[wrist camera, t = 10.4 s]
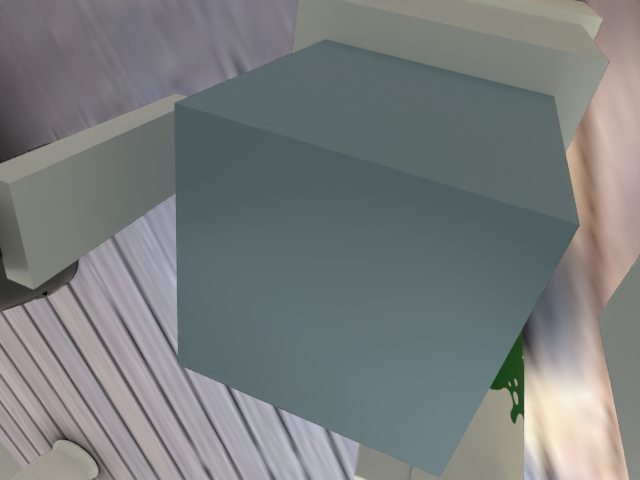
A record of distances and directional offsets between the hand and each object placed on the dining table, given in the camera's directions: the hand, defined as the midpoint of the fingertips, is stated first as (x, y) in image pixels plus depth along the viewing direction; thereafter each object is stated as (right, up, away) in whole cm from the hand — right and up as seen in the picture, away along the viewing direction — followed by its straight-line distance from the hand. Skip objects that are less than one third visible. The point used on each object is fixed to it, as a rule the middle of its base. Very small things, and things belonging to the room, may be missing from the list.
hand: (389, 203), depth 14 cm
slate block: (+1, +1, +2) cm, 3 cm away
